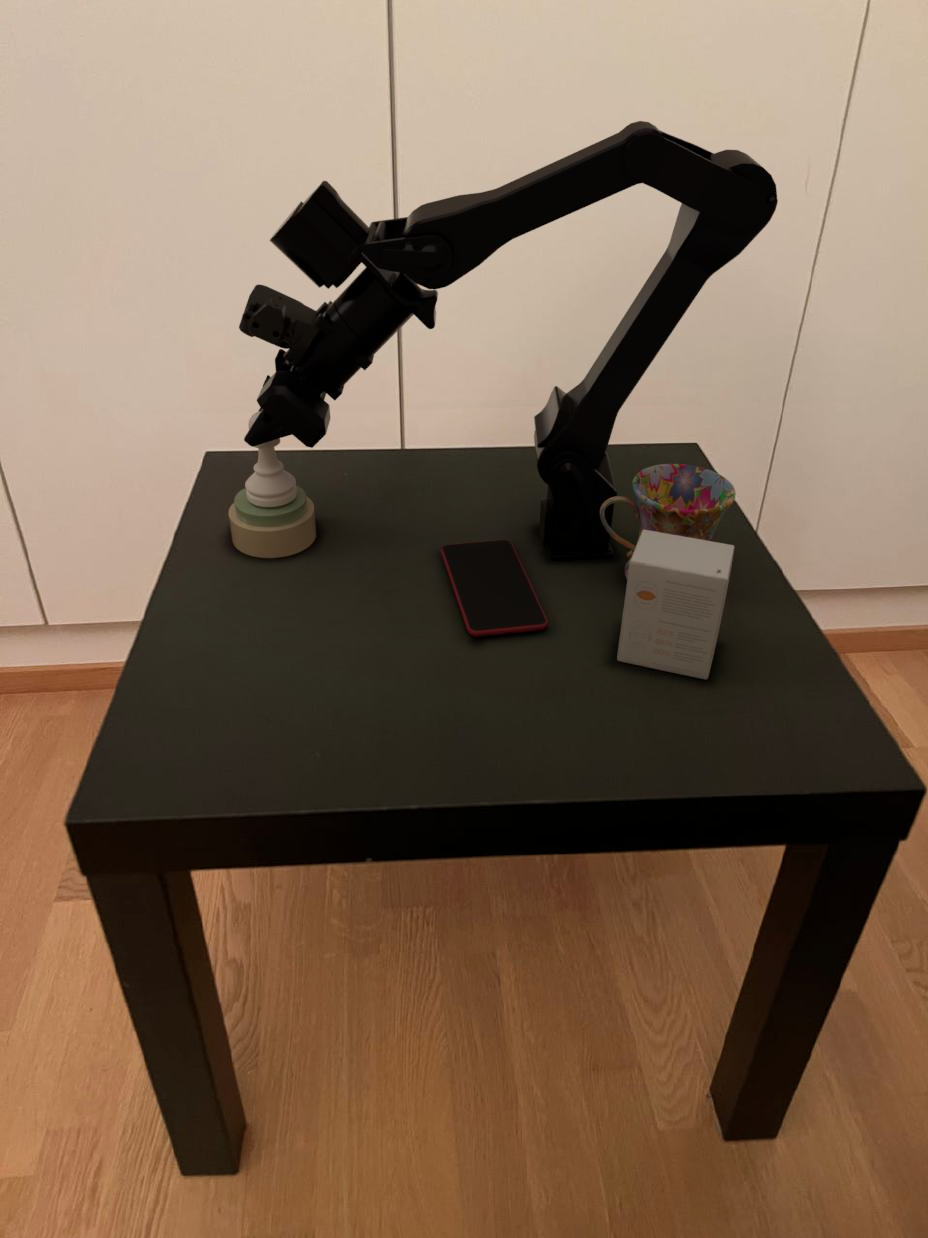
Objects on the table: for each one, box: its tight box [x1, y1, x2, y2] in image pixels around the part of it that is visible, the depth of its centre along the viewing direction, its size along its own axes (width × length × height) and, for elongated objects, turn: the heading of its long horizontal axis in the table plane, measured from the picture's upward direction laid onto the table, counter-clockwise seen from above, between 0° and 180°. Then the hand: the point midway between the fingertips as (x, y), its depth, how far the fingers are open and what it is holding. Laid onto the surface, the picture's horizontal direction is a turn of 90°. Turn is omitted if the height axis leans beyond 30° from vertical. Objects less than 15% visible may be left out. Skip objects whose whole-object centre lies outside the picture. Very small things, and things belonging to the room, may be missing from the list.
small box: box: [616, 530, 735, 681], centre depth 80 cm, size 8×6×10 cm
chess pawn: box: [244, 411, 297, 507], centre depth 93 cm, size 5×5×9 cm
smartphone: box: [440, 539, 548, 638], centre depth 91 cm, size 7×1×15 cm
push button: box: [228, 485, 317, 559], centre depth 97 cm, size 9×9×4 cm
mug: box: [600, 463, 736, 580], centre depth 90 cm, size 12×9×11 cm
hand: (251, 435), depth 92 cm, fingers closed on chess pawn, 3 cm apart
